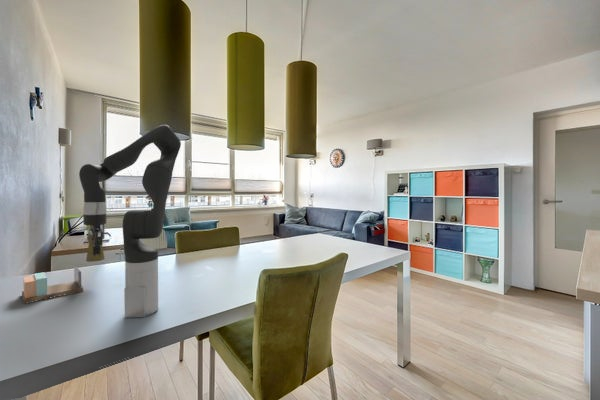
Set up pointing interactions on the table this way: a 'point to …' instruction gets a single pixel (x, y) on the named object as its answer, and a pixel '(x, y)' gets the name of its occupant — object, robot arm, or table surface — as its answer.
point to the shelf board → (55, 291)
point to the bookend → (77, 276)
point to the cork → (90, 251)
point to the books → (35, 285)
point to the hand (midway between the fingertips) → (95, 254)
